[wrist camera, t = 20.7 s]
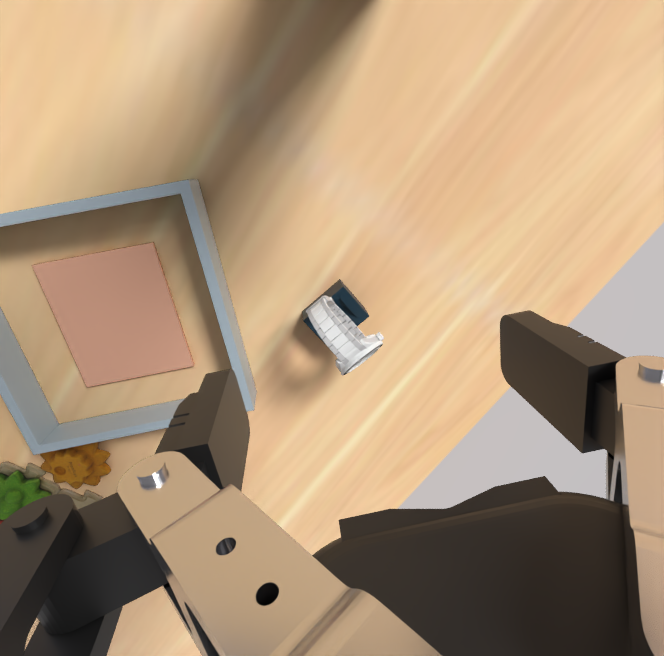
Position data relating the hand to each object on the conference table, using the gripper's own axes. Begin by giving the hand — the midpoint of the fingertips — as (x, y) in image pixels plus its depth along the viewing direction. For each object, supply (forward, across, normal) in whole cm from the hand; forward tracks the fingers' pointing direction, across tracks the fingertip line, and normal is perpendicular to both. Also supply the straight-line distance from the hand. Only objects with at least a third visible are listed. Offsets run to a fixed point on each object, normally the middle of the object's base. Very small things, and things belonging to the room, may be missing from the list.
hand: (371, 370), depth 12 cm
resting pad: (+32, +22, +5) cm, 39 cm away
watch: (+32, -1, +9) cm, 33 cm away
